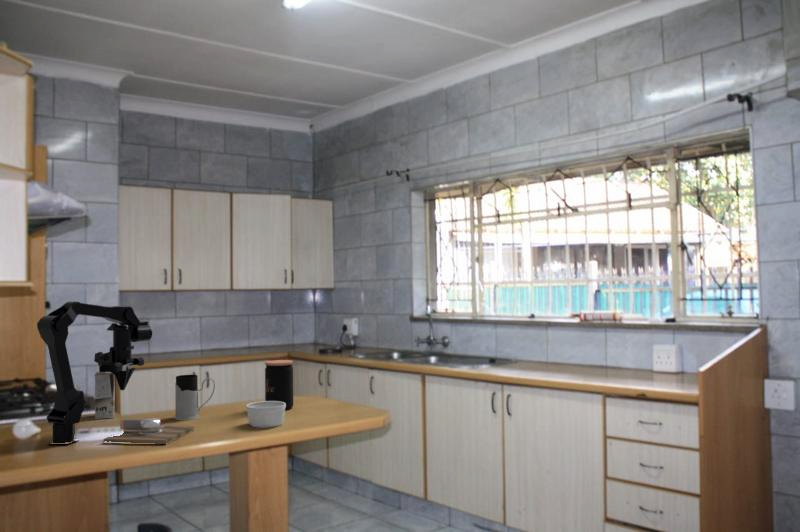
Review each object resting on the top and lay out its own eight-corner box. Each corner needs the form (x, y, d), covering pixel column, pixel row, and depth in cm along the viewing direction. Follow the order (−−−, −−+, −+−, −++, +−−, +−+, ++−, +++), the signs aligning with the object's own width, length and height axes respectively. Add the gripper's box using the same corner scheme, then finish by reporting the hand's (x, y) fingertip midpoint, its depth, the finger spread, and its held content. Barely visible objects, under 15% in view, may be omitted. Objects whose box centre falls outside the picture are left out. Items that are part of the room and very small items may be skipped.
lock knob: (163, 428, 221) (163, 418, 221) (155, 432, 215) (155, 422, 215) (126, 428, 222) (126, 417, 222) (117, 432, 216) (117, 421, 216)
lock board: (165, 445, 207) (165, 439, 207) (103, 443, 209) (103, 438, 209) (194, 430, 226) (194, 425, 226) (136, 429, 229) (136, 424, 229)
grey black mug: (173, 416, 250) (172, 375, 250) (213, 413, 255) (212, 372, 256) (175, 421, 242) (175, 378, 242) (216, 417, 247) (216, 375, 247)
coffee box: (114, 418, 249) (113, 373, 249) (94, 419, 246) (94, 374, 247) (114, 413, 257) (114, 370, 257) (96, 414, 255) (96, 371, 255)
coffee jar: (263, 407, 267) (263, 360, 267) (291, 405, 270) (290, 359, 270) (266, 412, 256) (266, 363, 257) (295, 410, 260) (295, 362, 260)
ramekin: (255, 430, 226) (254, 409, 226) (240, 423, 237) (240, 403, 237) (292, 425, 233) (292, 404, 233) (276, 419, 244) (276, 399, 244)
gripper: (114, 340, 240) (114, 385, 240) (83, 346, 222) (83, 394, 222) (144, 340, 239) (144, 385, 239) (116, 346, 220) (116, 395, 220)
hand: (122, 390), depth 230 cm, fingers closed
